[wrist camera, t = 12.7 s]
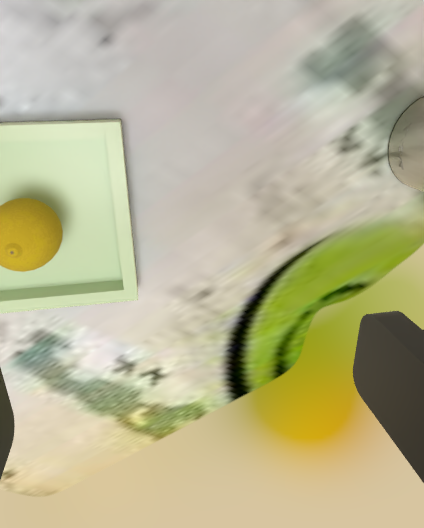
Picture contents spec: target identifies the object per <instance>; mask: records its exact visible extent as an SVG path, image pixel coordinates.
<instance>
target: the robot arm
mask: <svg viewBox="0 0 424 528" xmlns="http://www.w3.org/2000/svg"><path fill="white" fill-rule="evenodd" d="M388 155H389V162H390V166H391V168H392V171H393V173H394V174H395V176H396V177H397V179H399V180H400V181H401V182H402V183H403V184H406V185H408V186H410V187H413V188H415V189H418V190H421V191H423V192H424V97H423V98H421V99H419V100H417V101H416V102H415V103H413V104H412V105H411V106H410V107H409V108H408V109H407V110H406V111H405V112H404V113H403V114H402V116H401V117H400V119H399V120H398V122H397V123H396V125H395V128H394V130H393V132H392V135H391V139H390V143H389V153H388ZM353 377H354V382H355V386H356V388H357V391H358V393H359V394H360V396H361V397H362V399H363V400H364V402H365V403H366V404H367V406H368V407H369V408H370V410H371V411H372V413H373V414H374V415H375V417H376V418H377V419H378V421H379V422H380V424H381V425H382V426H383V427H384V429H385V430H386V432H387V433H388V434H389V436H390V437H391V439H392V440H393V441H394V443H395V444H396V445H397V447H398V448H399V450H400V451H401V452H402V454H403V455H404V456H405V458H406V459H407V461H408V462H409V463H410V465H411V466H412V467H413V469H414V470H415V472H416V473H417V474H418V476H419V477H420V478H421V480H422V481H423V482H424V330H422V329H420V328H419V327H418V326H417V325H416V324H415V323H413V322H412V321H411V320H410V319H409V318H407V317H406V316H405V315H404V314H403V313H401V312H399V311H392V312H383V313H374V314H366V315H365V316H363V318H362V320H361V323H360V329H359V334H358V341H357V347H356V353H355V359H354V366H353ZM13 437H14V415H13V411H12V407H11V403H10V400H9V396H8V393H7V389H6V386H5V382H4V379H3V375H2V372H1V368H0V479H1V476H2V473H3V470H4V467H5V464H6V461H7V458H8V455H9V452H10V449H11V446H12V442H13Z"/></svg>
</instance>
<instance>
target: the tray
mask: <svg viewBox="0 0 424 528" xmlns="http://www.w3.org/2000/svg"><path fill="white" fill-rule="evenodd" d="M18 198H30V199H36V200H39V201H41V202H43V203H45V204H46V205H48V206H49V207H51V208H52V209H53V210H54V212H55V213H56V214H57V216H58V218H59V219H60V221H61V225H62V230H63V236H62V242H61V245H60V248H59V250H58V252H57V253H56V255H55V256H54V257H53V258H52V259H51V260H50V261H49V262H48V263H46V264H45V265H44V266H42V267H40V268H37V269H35V270H31V271H26V272H20V271H13V270H9V269H6V268H4V267H2V266H0V313H10V312H20V311H30V310H41V309H51V308H61V307H72V306H82V305H92V304H102V303H113V302H123V301H133V300H138V284H137V274H136V264H135V254H134V244H133V234H132V224H131V214H130V204H129V194H128V184H127V174H126V164H125V154H124V144H123V134H122V124H121V119H104V120H69V121H33V122H0V206H1V205H2V204H4V203H6V202H8V201H11V200H14V199H18Z"/></svg>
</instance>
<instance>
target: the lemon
mask: <svg viewBox="0 0 424 528" xmlns="http://www.w3.org/2000/svg"><path fill="white" fill-rule="evenodd" d="M62 236H63V230H62V225H61V221H60V219H59V218H58V216H57V214H56V213H55V212H54V210H53V209H52V208H51V207H49V206H48V205H46V204H45V203H43V202H41V201H39V200H36V199H30V198H18V199H14V200H11V201H8V202H6V203H4V204H2V205H1V206H0V266H2V267H4V268H6V269H9V270H13V271H20V272H26V271H31V270H35V269H37V268H40V267H42V266H44V265H45V264H46V263H48V262H49V261H50V260H51V259H52V258H53V257H54V256H55V255H56V253H57V252H58V250H59V248H60V245H61V242H62Z"/></svg>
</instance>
